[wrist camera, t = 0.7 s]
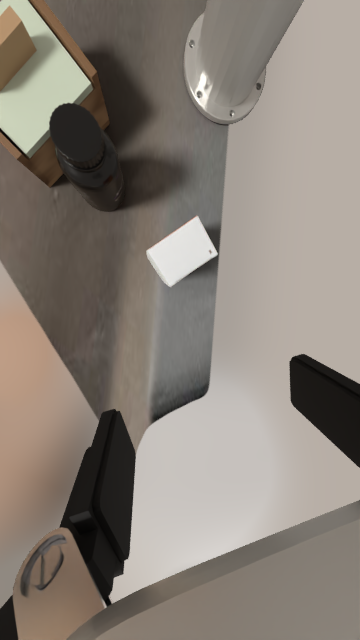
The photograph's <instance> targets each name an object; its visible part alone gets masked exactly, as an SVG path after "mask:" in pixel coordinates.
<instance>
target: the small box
mask: <svg viewBox="0 0 360 640" xmlns="http://www.w3.org/2000/svg"><path fill="white" fill-rule="evenodd" d="M217 255H218V253H217V251H216V249H215V247H214V246H213V244H212V242H211V240H210V238H209V236H208V234H207V232H206V231H205V229H204V227H203V225H202V223H201V221H200V219H199V218H198V216H195V217H194V218H193V219H191V220H190V221H188V222H187V223H185V224H184V225H182V226H181V227H180V228H178V229H177V230H175V231H174V232H172V233H171V234H169V235H168V236H166V237H165V238H164V239H162V240H161V241H159V242H158V243H156V244H155V245H154V246H152V247H151V248H149V249H148V250H147V257H148V259H149V261H150V262H151V264H152V265H153V267H154V268H155V270H156V271H157V273H158V274H159V276H160V277H161V279H162V280H163V282H165V283H166V284H167V285H168V286H169V287H172V286H173V285H174V284H175V283H177V282H178V281H180V280H181V279H182V278H184V277H185V276H187V275H188V274H190V273H191V272H192V271H194V270H195V269H197V268H198V267H200V266H201V265H203V264H204V263H206V262H207V261H209V260H210V259H212V258H214V257H215V256H217Z"/></svg>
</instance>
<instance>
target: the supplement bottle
mask: <svg viewBox="0 0 360 640" xmlns="http://www.w3.org/2000/svg"><path fill="white" fill-rule="evenodd" d="M49 125H50V126H49V130H50V136H51V138H52V141H53V143H54V145H55V153H56V158H57V161H58V164H59V166H60V168H61V170H62V171H63V173H64V174H65V176H66V177H67V178H68V180H69V181H70V182H71V183H72V185H73V186H74V187H75V188H76V189H77V191H78V192H79V193H80V194H81V195H82V197H83V198H84V199H85V200H86V201H87V202H88V203H89V204H90V205H91V206H92V207H94V208H95V209H97V210H100V211H112V210H115V209H116V208H118V207H119V206H120V205H121V203H122V202H123V200H124V197H125V183H124V179H123V175H122V171H121V166H120V162H119V158H118V154H117V151H116V148H115V146H114V143H113V142H112V140H111V138H110V137H109V136H108V134H107V133H106V132H105V131H104V130H103V129H102V128H101V127H100V126H99V125H98V122H97V120H96V119H95V118H94V116H93V115H92V114H91V113H90V111H88V110H86V108H85V107H82V106H80V105H77V104H75V103H72V104H71V103H67V104H66V103H63V104H62V105H59V106H58V107H57V108H55V110H54V111H53V112H52V115H51V117H50V121H49Z"/></svg>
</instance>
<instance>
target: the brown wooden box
mask: <svg viewBox="0 0 360 640" xmlns="http://www.w3.org/2000/svg"><path fill="white" fill-rule="evenodd" d="M28 1H29V3H30V4H31V5H32V7H33V8H34V9H35V10H36V12H37V13H38V14H39V16H40V17H41V18H42V20H43V21H44V22H45V24H46V25H47V26H48V27H49V29H50V30H51V31H52V33H53V34H54V35H55V37H56V38H57V39H58V40H59V42H60V43H61V44H62V46H63V47H64V48H65V50H66V51H67V52H68V54H69V55H70V56H71V57H72V59H73V60H74V61H75V63H76V64H77V65H78V67H79V68H80V69H81V70H82V72H83V73H84V74H85V76H86V77H87V78H88V80H89V81H90V82H91V85H92V88H93V90H92V91H91V92H90V93H89V95H88V96H87V97H86V98H85V99H84V100H83V101H82V102H81V103H80V104H79V105H80V106H82V107H85V108H86V110H88V111H90V113H91V114H92V115H93V116H94V118H95V119H96V120H97V122H98V125H99V126H100V127H101V128H102V129H103V130H104V129H105V128H106V127H107V126H108V125H109V124H110V122H109V118H108V114H107V110H106V106H105V102H104V98H103V94H102V90H101V86H100V82H99V78H98V74H97V71H96V70H95V68H94V67H93V66H92V64H91V63H90V62H89V60H88V59H87V58H86V56H85V55H84V54H83V52H82V51H81V50H80V48H79V47H78V46H77V44H76V43H75V42H74V40H73V39H72V38H71V36H70V35H69V34H68V32H67V31H66V30H65V28H64V27H63V25H62V24H61V23H60V21H59V20H58V19H57V17H56V16H55V15H54V13H53V12H52V11H51V9H50V8H49V7H48V5H47V4H46V3H45V1H44V0H28ZM0 143H1V144H2V145H3V146H4V147H5V148H6V149H7V150H8V151H9V152H10V153H11V154H12V155H13V156H14V157H15V158H16V159H17V160H18V161H20V162H21V163H22V164H23V165H24V166H25V167H27V168H28V169H29V170H30V171H31V172H32V173H34V174H35V175H36V176H37V177H38V178H39V179H41V180H42V181H43V182H44V183H45V184H46V185H48V186H49V187H51V186H52V185H53V184H54V183H55V182H56V181H57V180H58V178H59V177H60V176H61V175H62V174H63V171H62V170H61V168H60V166H59V164H58V161H57V158H56V153H55V145H54V143H53V141H52V138H51V136H50V137H49V138H48V139H47V140H46V141H45V142H44V144H43V145H42V146H41V147H40V148H39V149H38V150H37V151H36V152H35V153H34V154H33V156H32V157H31V158H29V157H28V156H27V155H26V154H25V153H24V152H23V151H22V150H21V149H20V148H19V147H18V146H17V145H16V144H15V143H14V142H13V141H12V140H11V138H10V137H9V136H8V135H7V134H6V133H5V132H4V131H3V130H2V129H1V128H0Z"/></svg>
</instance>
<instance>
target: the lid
mask: <svg viewBox="0 0 360 640" xmlns="http://www.w3.org/2000/svg"><path fill="white" fill-rule="evenodd" d="M92 90H93V88H92V85H91V82H90V81H89V80H88V78H87V77H86V76H85V74H84V73H83V72H82V70H81V69H80V68H79V67H78V65H77V64H76V63H75V61H74V60H73V59H72V57H71V56H70V55H69V54H68V52H67V51H66V50H65V48H64V47H63V46H62V44H61V43H60V42H59V40H58V39H57V38H56V37H55V35H54V34H53V33H52V31H51V30H50V29H49V27H48V26H47V25H46V24H45V22H44V21H43V20H42V18H41V17H40V16H39V14H38V13H37V12H36V10H35V9H34V8H33V7H32V5H31V4H30V3H29V1H28V0H2V1H1V2H0V128H1V129H2V130H3V131H4V132H5V133H6V134H7V135H8V136H9V137H10V138H11V140H12V141H13V142H14V143H15V144H16V145H17V146H18V147H19V148H20V149H21V150H22V151H23V152H24V153H25V154H26V155H27V156H28V157H29V158H31V157H32V156H33V154H34V153H35V152H36V151H37V150H38V149H39V148H40V147H41V146H42V145H43V144H44V142H45V141H46V140H47V139H48V138H49V137H50V130H49V126H50V125H49V121H50V117H51V115H52V112H53V111H54V110H55V108H57V107H58V106H59V105H62V104H63V103H66V104H67V103H71V104H72V103H75V104H77V105H79V104H80V103H81V102H82V101H83V100H84V99H85V98H86V97H87V96H88V95H89V93H90V92H91V91H92Z"/></svg>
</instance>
